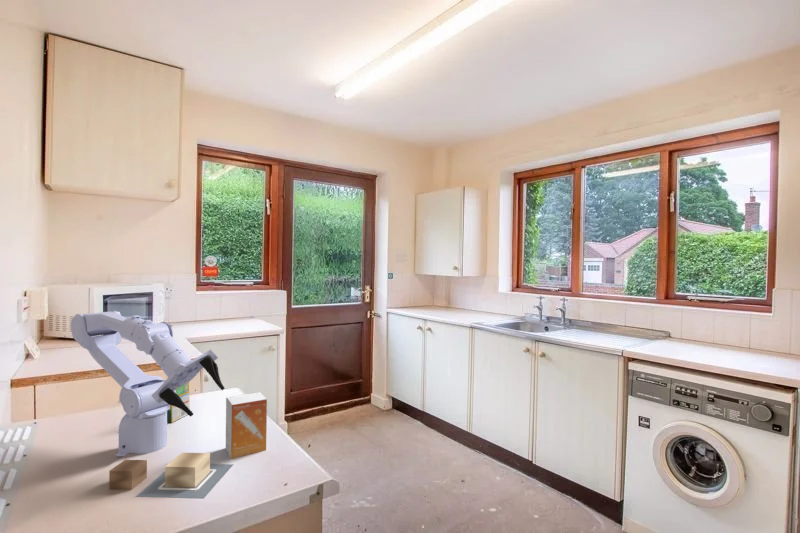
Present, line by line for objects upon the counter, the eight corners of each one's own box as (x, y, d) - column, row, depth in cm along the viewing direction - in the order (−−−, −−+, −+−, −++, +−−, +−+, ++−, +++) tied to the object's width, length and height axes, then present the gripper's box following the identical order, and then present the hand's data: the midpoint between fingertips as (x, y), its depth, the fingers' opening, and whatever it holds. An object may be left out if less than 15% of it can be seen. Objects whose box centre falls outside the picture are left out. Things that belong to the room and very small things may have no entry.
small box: (230, 462, 94) (231, 404, 94) (225, 451, 99) (225, 396, 99) (267, 453, 98) (267, 398, 98) (259, 443, 103) (260, 391, 103)
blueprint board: (135, 500, 78) (135, 495, 78) (175, 466, 91) (175, 462, 91) (203, 502, 78) (203, 497, 78) (233, 468, 91) (233, 463, 91)
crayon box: (181, 413, 123) (181, 374, 123) (190, 414, 123) (190, 374, 123) (162, 422, 116) (162, 381, 116) (171, 423, 115) (171, 381, 115)
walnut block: (109, 493, 81) (109, 470, 81) (125, 481, 85) (125, 459, 85) (132, 494, 81) (132, 471, 81) (146, 481, 85) (146, 460, 85)
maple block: (165, 486, 82) (165, 466, 82) (181, 471, 88) (181, 452, 88) (195, 487, 82) (195, 467, 82) (209, 472, 88) (210, 453, 88)
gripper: (134, 376, 88) (167, 420, 83) (195, 331, 95) (229, 369, 89) (149, 388, 94) (181, 430, 88) (206, 345, 100) (239, 381, 95)
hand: (206, 400), depth 89 cm, fingers open, 7 cm apart
